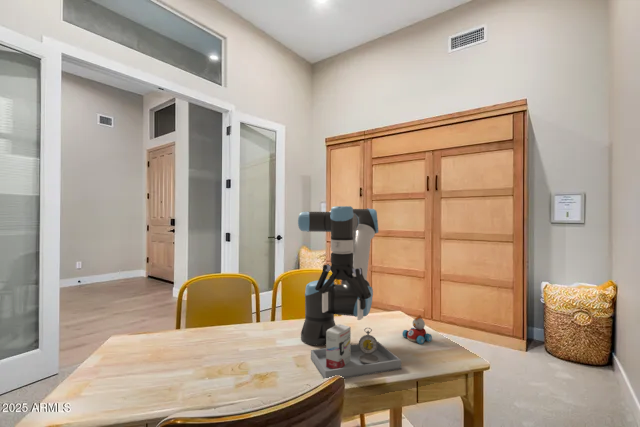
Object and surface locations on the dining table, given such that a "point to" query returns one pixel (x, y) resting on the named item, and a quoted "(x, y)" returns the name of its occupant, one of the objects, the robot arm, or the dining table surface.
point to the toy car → (417, 331)
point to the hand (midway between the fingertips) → (342, 315)
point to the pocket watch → (365, 341)
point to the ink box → (338, 346)
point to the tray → (357, 362)
